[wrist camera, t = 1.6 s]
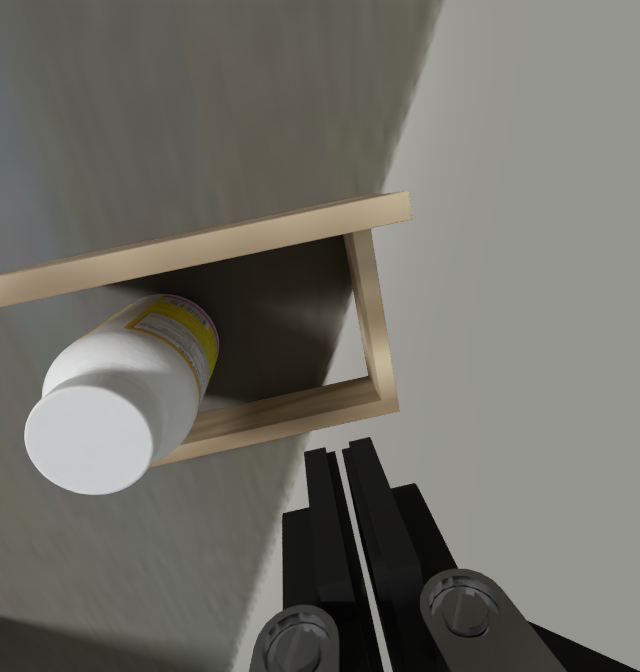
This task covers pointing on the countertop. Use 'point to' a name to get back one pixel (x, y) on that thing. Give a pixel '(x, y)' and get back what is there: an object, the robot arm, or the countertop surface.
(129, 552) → the countertop surface
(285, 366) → the countertop surface
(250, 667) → the robot arm
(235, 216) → the countertop surface
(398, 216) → the shelf bay
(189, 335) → the supplement bottle
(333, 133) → the countertop surface
